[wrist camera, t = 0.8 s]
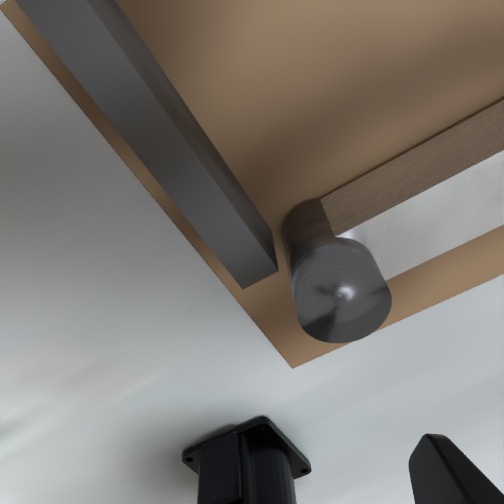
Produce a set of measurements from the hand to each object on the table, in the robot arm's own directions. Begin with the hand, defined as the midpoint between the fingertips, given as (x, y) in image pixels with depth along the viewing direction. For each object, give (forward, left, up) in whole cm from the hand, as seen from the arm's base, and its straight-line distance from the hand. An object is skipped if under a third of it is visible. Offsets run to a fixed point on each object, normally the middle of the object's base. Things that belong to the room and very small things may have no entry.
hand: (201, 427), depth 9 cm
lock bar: (-4, -8, -11) cm, 14 cm away
